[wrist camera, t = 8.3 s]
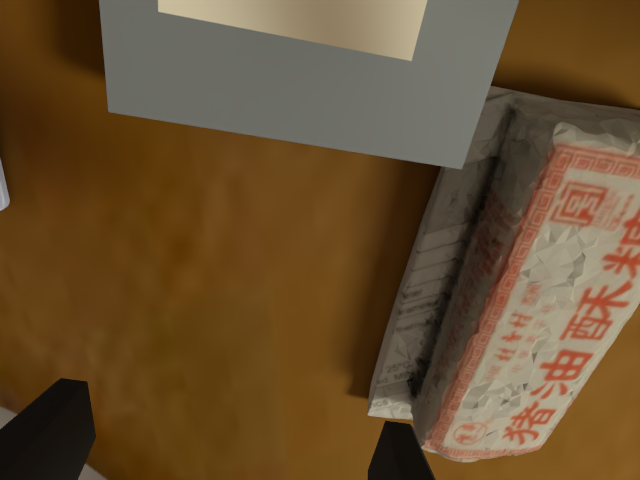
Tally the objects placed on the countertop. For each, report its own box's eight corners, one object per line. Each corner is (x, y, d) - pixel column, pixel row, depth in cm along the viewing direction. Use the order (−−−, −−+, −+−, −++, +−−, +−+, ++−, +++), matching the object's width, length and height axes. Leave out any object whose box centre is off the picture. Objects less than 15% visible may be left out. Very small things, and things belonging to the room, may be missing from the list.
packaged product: (500, 104, 13) (820, 159, 13) (458, 76, 17) (702, 118, 17) (368, 473, 21) (562, 496, 22) (363, 393, 26) (525, 415, 26)
